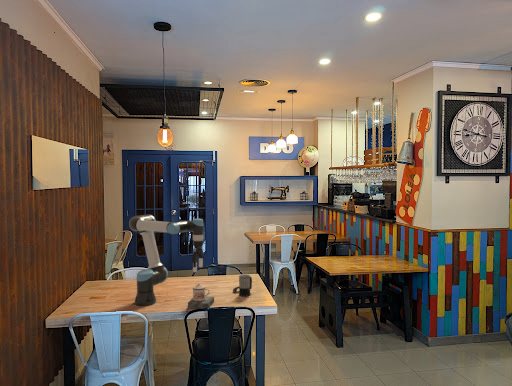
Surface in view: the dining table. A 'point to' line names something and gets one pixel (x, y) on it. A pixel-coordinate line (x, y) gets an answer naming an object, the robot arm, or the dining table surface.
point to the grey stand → (201, 303)
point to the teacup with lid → (199, 292)
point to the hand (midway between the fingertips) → (197, 269)
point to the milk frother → (244, 285)
